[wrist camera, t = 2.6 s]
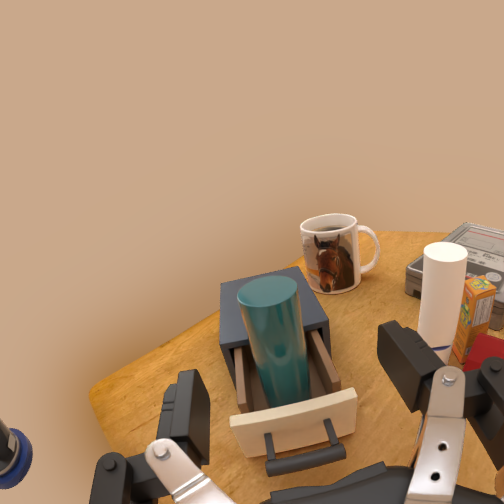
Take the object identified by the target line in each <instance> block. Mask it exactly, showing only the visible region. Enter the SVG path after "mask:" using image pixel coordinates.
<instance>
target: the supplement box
mask: <svg viewBox="0 0 504 504" xmlns="http://www.w3.org/2000/svg"><path fill="white" fill-rule="evenodd" d="M495 294H496V287H495V286H494V285H492V284H491V283H490V282H489V281H488V280H487V279H486V277H485V276H484V275H482V276H478V277H475V278H471V279H468V280H465V282H464V289H463V296H462V302H461V308H460V313H459V319H458V324H457V329H456V334H455V339H454V343H453V347H452V350H453V351H454V353H455V355H456V357H457V358H458V360H459V362H460V364H463V363H466V360H467V357H468V355H469V353H470V350H471V348H472V346H473V343H474V341H475V339H476V337H477V335H478V334H479V333H483V334H487V331H488V327H489V323H490V318H491V313H492V309H493V304H494V299H495Z"/></svg>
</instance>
